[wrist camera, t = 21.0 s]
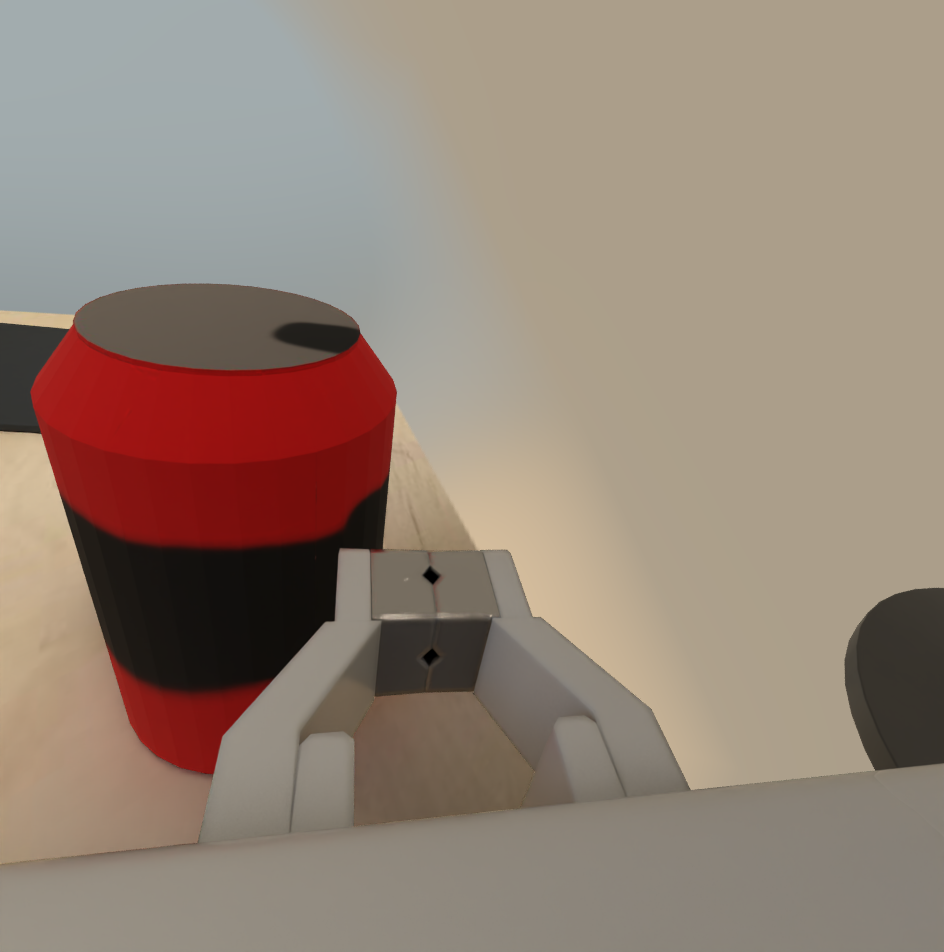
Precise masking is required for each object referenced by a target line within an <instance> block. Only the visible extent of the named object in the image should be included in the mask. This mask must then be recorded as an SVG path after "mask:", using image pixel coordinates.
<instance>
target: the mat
mask: <svg viewBox="0 0 944 952" xmlns="http://www.w3.org/2000/svg"><path fill="white" fill-rule="evenodd" d="M68 331H69V329H62V328H51V327H40V326H29V325H18V324H7V323H0V430H4V431H23V432H41V431H40V427H39V424H38V421H37V418H36V414H35V411H34V408H33V403H32V397H31V392H30V391H31V389H32V386H33V384H34V381H35V379H36V376H37V375H38V374H39V372H40V371H41V369H42V368H43V366H44V365H45V364H46V362H47V361H48V359H49V358H50V357H51V355H52V354H53V352H54V351H55V349H56V348H57V347H58V345H59V344H60V342H61V341H62V339H63V338H64V337H65V335H66V334H67V332H68Z"/></svg>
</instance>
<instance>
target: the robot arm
mask: <svg viewBox="0 0 944 952" xmlns="http://www.w3.org/2000/svg"><path fill="white" fill-rule="evenodd" d="M473 691H474V693H473V694H474V696H475V697H476V698H477V699H478V701H479V702H480V703H481V704H482V706H483V707H484V708H485V710H486V711H487V712H488V713H489V715H490V716H491V717H492V718H493V720H494V721H495V722H496V724H497V725H498V726H499V727H500V729H501V730H502V731H503V732H504V734H505V735H506V736H507V737H508V739H509V740H510V741H511V743H512V744H513V745H514V746H515V748H516V749H517V750H518V751H519V753H520V754H521V755H522V757H523V758H524V759H525V760H526V762H527V763H528V764H529V765H530V767H531V768H532V769H533V770H534V775H533V777H532V779H531V782H530V784H529V787H528V789H527V791H526V794H525V796H524V799H523V801H522V804H521V806H520V808H519V809H509V810H500V811H491V812H481V813H472V814H463V815H453V816H444V817H435V818H426V819H416V820H407V821H398V822H388V823H379V824H370V825H360V826H354V739H353V738H352V737H353V735H354V734H355V732H356V730H357V728H358V727H359V725H360V723H361V722H362V720H363V718H364V717H365V715H366V713H367V711H368V710H369V708H370V706H371V705H372V703H373V701H374V697H377V696H389V695H402V694H414V693H424V692H425V693H433V692H473ZM0 952H944V763H942V764H933V765H923V766H914V767H904V768H895V769H886V770H876V771H867V772H858V773H848V774H839V775H830V776H820V777H811V778H801V779H792V780H784V781H774V782H764V783H755V784H746V785H736V786H727V787H717V788H708V789H698V790H690V788H689V786H688V784H687V782H686V779H685V777H684V775H683V773H682V771H681V769H680V767H679V765H678V763H677V761H676V759H675V757H674V755H673V753H672V751H671V749H670V747H669V744H668V742H667V740H666V738H665V736H664V734H663V732H662V730H661V728H660V726H659V724H658V722H657V720H656V718H655V716H654V714H653V712H652V709H651V708H649V707H648V706H647V705H646V704H644V703H643V702H642V701H641V700H640V699H639V698H637V697H636V696H635V695H634V694H632V693H631V692H630V691H629V690H628V689H626V688H625V687H624V686H623V685H622V684H621V683H619V682H618V681H617V680H616V679H614V678H613V677H612V676H611V675H609V674H608V673H607V672H606V671H605V670H604V669H602V668H601V667H600V666H599V665H597V664H596V663H595V662H594V661H593V660H592V659H590V658H589V657H588V656H587V655H586V654H584V653H583V652H582V651H581V650H580V649H578V648H577V647H576V646H575V645H574V644H572V643H571V642H570V641H569V640H568V639H566V638H565V637H564V636H563V635H562V634H560V633H559V632H558V631H557V630H556V629H554V628H553V627H552V626H551V625H550V624H548V623H547V622H546V621H545V620H544V619H542V618H541V617H533V616H532V614H531V611H530V608H529V605H528V602H527V599H526V596H525V593H524V591H523V588H522V585H521V582H520V579H519V576H518V573H517V570H516V567H515V564H514V562H513V559H512V556H511V553H510V552H509V551H508V550H480V551H434V550H394V549H370V551H369V549H344V548H340V551H339V555H338V572H337V590H336V607H335V621H333V622H325V623H324V624H323V625H322V626H321V627H320V628H319V629H318V631H317V632H316V633H315V634H314V635H313V636H312V637H311V638H310V639H309V641H308V642H307V643H306V644H305V645H304V646H303V647H302V648H301V649H300V651H299V652H298V653H297V654H296V655H295V656H294V657H293V658H292V660H291V661H290V662H289V663H288V664H287V665H286V666H285V667H284V668H283V670H282V671H281V672H280V673H279V674H278V675H277V676H276V677H275V678H274V680H273V681H272V682H271V683H270V684H269V685H268V686H267V687H266V688H265V690H264V691H263V692H262V693H261V694H260V695H259V696H258V697H257V698H256V700H255V701H254V702H253V703H252V704H251V705H250V706H249V707H248V708H247V710H246V711H245V712H244V713H243V714H242V715H241V716H240V717H239V719H238V720H237V721H236V722H235V723H234V724H233V725H232V726H231V727H230V729H229V730H228V731H227V732H226V733H225V734H224V735H223V737H222V741H221V745H220V749H219V754H218V758H217V762H216V766H215V771H214V775H213V779H212V783H211V788H210V792H209V796H208V801H207V805H206V809H205V813H204V818H203V822H202V826H201V830H200V835H199V839H198V843H191V844H182V845H173V846H163V847H154V848H145V849H135V850H126V851H116V852H107V853H98V854H88V855H79V856H70V857H60V858H51V859H41V860H32V861H23V862H13V863H4V864H0Z"/></svg>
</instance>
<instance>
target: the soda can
mask: <svg viewBox="0 0 944 952" xmlns="http://www.w3.org/2000/svg"><path fill="white" fill-rule="evenodd" d="M30 392H31V397H32V403H33V408H34V411H35V414H36V418H37V421H38V424H39V427H40V431H41V434H42V437H43V440H44V444H45V447H46V450H47V453H48V457H49V460H50V463H51V466H52V470H53V473H54V476H55V480H56V483H57V486H58V489H59V493H60V496H61V499H62V502H63V506H64V509H65V512H66V515H67V519H68V522H69V525H70V528H71V532H72V535H73V538H74V542H75V545H76V548H77V551H78V555H79V558H80V561H81V564H82V568H83V571H84V574H85V577H86V581H87V584H88V587H89V590H90V594H91V597H92V600H93V604H94V607H95V610H96V613H97V617H98V620H99V623H100V626H101V630H102V633H103V636H104V639H105V643H106V646H107V649H108V652H109V656H110V659H111V662H112V666H113V669H114V672H115V675H116V679H117V682H118V685H119V688H120V692H121V695H122V698H123V701H124V705H125V708H126V711H127V714H128V718H129V721H130V724H131V726H132V727H133V729H134V731H135V732H136V734H137V735H138V737H139V739H140V740H141V742H142V743H143V744H144V745H146V746H147V747H148V748H149V749H150V750H151V751H152V752H153V753H155V754H156V755H157V756H158V757H160V758H162V759H164V760H166V761H168V762H170V763H172V764H174V765H176V766H178V767H180V768H184V769H188V770H193V771H197V772H201V773H205V774H214V771H215V766H216V762H217V758H218V754H219V749H220V745H221V741H222V737H223V735H224V734H225V733H226V732H227V731H228V730H229V729H230V727H231V726H232V725H233V724H234V723H235V722H236V721H237V720H238V719H239V717H240V716H241V715H242V714H243V713H244V712H245V711H246V710H247V708H248V707H249V706H250V705H251V704H252V703H253V702H254V701H255V700H256V698H257V697H258V696H259V695H260V694H261V693H262V692H263V691H264V690H265V688H266V687H267V686H268V685H269V684H270V683H271V682H272V681H273V680H274V678H275V677H276V676H277V675H278V674H279V673H280V672H281V671H282V670H283V668H284V667H285V666H286V665H287V664H288V663H289V662H290V661H291V660H292V658H293V657H294V656H295V655H296V654H297V653H298V652H299V651H300V649H301V648H302V647H303V646H304V645H305V644H306V643H307V642H308V641H309V639H310V638H311V637H312V636H313V635H314V634H315V633H316V632H317V631H318V629H319V628H320V627H321V626H322V625H323V624H324V623H325V622H333V621H335V607H336V590H337V572H338V555H339V551H340V548H344V549H369V551H370V549H382V548H383V537H384V526H385V515H386V505H387V494H388V483H389V472H390V461H391V450H392V439H393V428H394V417H395V406H396V395H397V391H396V388H395V384H394V381H393V379H392V378H391V376H390V375H389V373H388V372H387V370H386V369H385V368H384V366H383V365H382V363H381V362H380V360H379V359H378V358H377V356H376V355H375V353H374V352H373V350H372V349H371V348H370V346H369V345H368V343H367V342H366V340H365V339H364V338H363V336H362V335H361V333H360V329H359V325H358V324H357V323H356V322H355V320H354V319H353V318H352V317H350V316H349V315H347V314H346V313H345V312H343V311H341V310H339V309H337V308H335V307H333V306H331V305H329V304H326V303H323V302H320V301H318V300H315V299H312V298H308V297H304V296H301V295H297V294H293V293H288V292H283V291H278V290H272V289H265V288H258V287H250V286H239V285H226V284H172V285H157V286H149V287H141V288H135V289H130V290H125V291H120V292H116V293H112V294H109V295H106V296H103V297H99V298H97V299H95V300H93V301H91V302H89V303H87V304H85V305H84V306H83V307H82V308H81V309H80V310H78V311H77V312H76V314H75V317H74V320H73V325H72V327H71V328H70V329H69V331H68V332H67V334H66V335H65V337H64V338H63V339H62V341H61V342H60V344H59V345H58V347H57V348H56V349H55V351H54V352H53V354H52V355H51V357H50V358H49V359H48V361H47V362H46V364H45V365H44V366H43V368H42V369H41V371H40V372H39V374H38V375H37V376H36V379H35V381H34V384H33V386H32V389H31V391H30Z"/></svg>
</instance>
